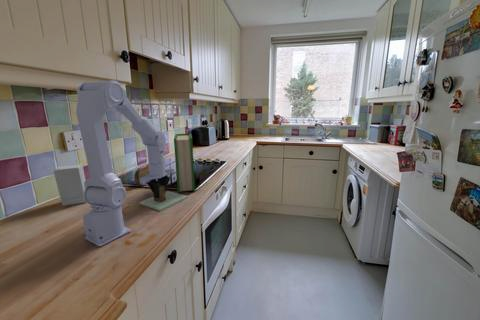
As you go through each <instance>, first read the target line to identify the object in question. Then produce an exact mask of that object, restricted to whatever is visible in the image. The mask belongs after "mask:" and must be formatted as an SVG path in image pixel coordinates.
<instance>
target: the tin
mask: <svg viewBox="0 0 480 320" xmlns="http://www.w3.org/2000/svg"><path fill="white" fill-rule="evenodd" d="M149 173H150V172H149V164H147V165H145V166H141V167H140V168H138V169H136V170H135V172H134V175H133V177H134V182H135V184H136V185H137V186H142V187H143V185H145V186H146V184H147V183H146V184H141V183H140V179H139V178H142V177H144V176H146V175H148V174H149ZM147 185H148V184H147Z"/></svg>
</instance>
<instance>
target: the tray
mask: <svg viewBox="0 0 480 320" xmlns="http://www.w3.org/2000/svg"><path fill="white" fill-rule="evenodd" d="M165 197H166V200H165V201H163V202H157V201H154V197H153V196H151V197H149V198H146V199H144V200H142V201H139V205H141V206H144V207H148V208H151V209H154V210H156V211H159V212H161V211H163V210H166V209H168V208H169V207H172V206H174V205H176V204H178V203H180V202H182V201H184V200H187V199H188V197H189V196H188V195H185V194H181V193H178V192H174V191H171V190H170V191H169V190H166V194H165Z"/></svg>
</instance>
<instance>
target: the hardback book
mask: <svg viewBox="0 0 480 320" xmlns="http://www.w3.org/2000/svg"><path fill="white" fill-rule="evenodd" d="M173 145H174V147H173V148H174V158H175V159H174V160H175V174H176V183H177V184H176V185H177V186H176V187H177V193H178V194H181V192H188V191H190V192H191V191H192V192H193V193H196V184H195V164H194V163H195V162H194V147H193V136H192V133H176V134H175V135H174V138H173Z"/></svg>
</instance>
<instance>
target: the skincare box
mask: <svg viewBox="0 0 480 320" xmlns="http://www.w3.org/2000/svg"><path fill="white" fill-rule="evenodd" d="M53 175H54V178H55V182H56V187H57V189H58V190H57V191H58V194H59V198H60V201H61V206H62V207H65V206H70V205H77V204H78V205H79V204H85V203H87V202H86V201H85V199H84V191H85V185H84V182H85V181H86V180H87V179H86V176H85V170H84V166H83V164H82V163H79V164H74V165H73V164H72V165H70V164H69V165H63V166H62V165H61V166H57V167H56V168H54V170H53Z"/></svg>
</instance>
